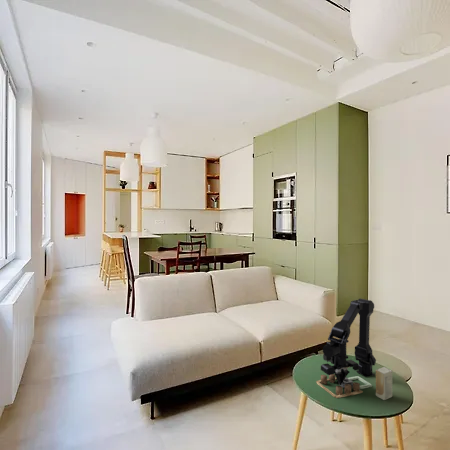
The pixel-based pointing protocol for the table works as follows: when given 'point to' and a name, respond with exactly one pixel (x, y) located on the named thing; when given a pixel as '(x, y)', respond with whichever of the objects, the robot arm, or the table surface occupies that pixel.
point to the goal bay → (361, 381)
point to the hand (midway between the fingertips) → (339, 384)
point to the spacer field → (339, 387)
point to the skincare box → (384, 383)
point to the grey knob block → (347, 382)
